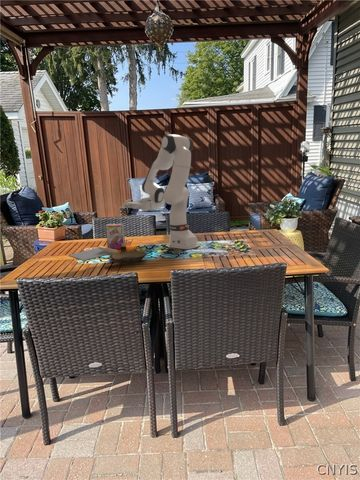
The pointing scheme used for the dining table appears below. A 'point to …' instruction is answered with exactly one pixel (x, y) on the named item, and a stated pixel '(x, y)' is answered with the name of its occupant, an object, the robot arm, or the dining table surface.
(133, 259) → the oil lamp
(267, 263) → the dining table surface
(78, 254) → the grey mat
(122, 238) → the candy bar box
